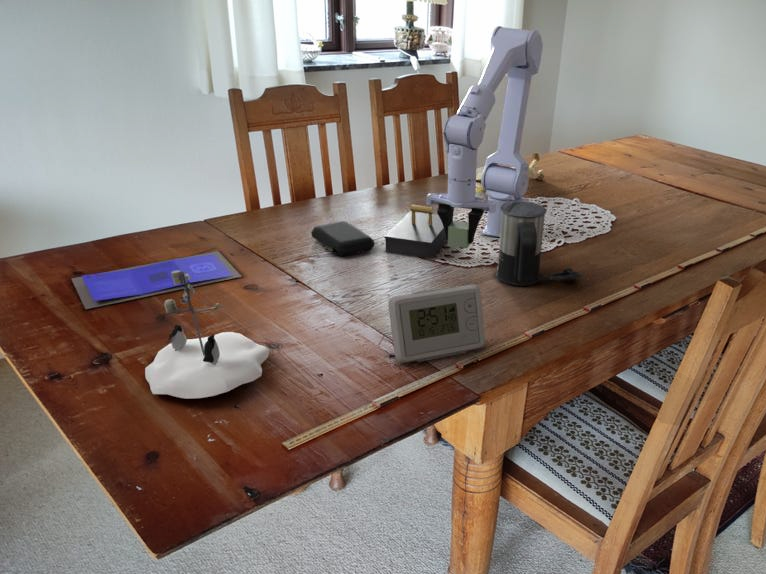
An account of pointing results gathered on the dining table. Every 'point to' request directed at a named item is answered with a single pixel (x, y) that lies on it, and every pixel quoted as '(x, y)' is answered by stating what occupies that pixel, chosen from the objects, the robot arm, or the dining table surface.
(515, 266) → the milk frother
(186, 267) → the booklet
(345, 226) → the carrying case
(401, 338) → the digital clock
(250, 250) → the dining table surface
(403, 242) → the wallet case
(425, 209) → the cover
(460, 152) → the robot arm
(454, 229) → the block
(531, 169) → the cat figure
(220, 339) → the figurine
